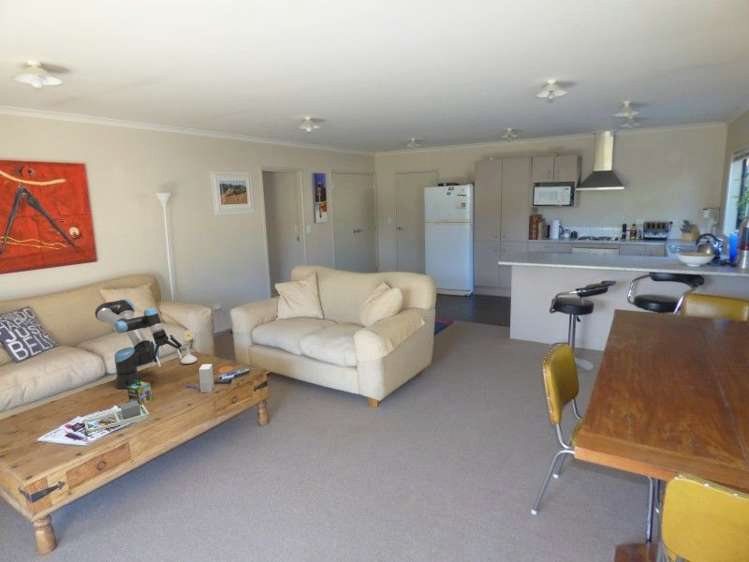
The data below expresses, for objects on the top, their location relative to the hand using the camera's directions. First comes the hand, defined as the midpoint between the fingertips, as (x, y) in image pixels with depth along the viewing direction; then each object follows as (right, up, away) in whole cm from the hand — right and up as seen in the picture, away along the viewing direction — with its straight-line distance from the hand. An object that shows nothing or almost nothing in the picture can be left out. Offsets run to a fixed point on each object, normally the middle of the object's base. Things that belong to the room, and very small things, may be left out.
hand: (170, 362), depth 290 cm
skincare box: (+25, -17, -3) cm, 30 cm away
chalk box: (-8, -21, -19) cm, 29 cm away
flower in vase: (-6, -8, +46) cm, 47 cm away
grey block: (-4, -23, -38) cm, 44 cm away
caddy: (-10, -25, -42) cm, 49 cm away
